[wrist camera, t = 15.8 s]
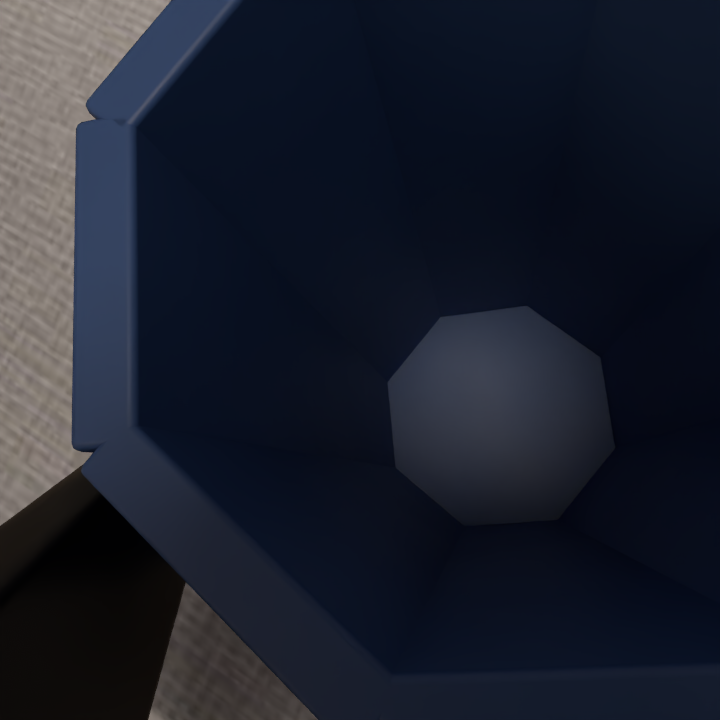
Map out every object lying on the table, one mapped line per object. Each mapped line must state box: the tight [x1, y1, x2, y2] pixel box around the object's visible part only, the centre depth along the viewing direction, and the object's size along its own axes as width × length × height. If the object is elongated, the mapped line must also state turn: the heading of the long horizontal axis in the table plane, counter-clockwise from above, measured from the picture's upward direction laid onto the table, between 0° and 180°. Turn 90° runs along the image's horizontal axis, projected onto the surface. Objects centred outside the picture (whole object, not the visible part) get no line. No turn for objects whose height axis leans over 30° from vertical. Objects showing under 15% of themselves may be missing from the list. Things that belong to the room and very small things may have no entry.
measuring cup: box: [72, 0, 720, 720], centre depth 11 cm, size 11×6×13 cm, turn 5°
